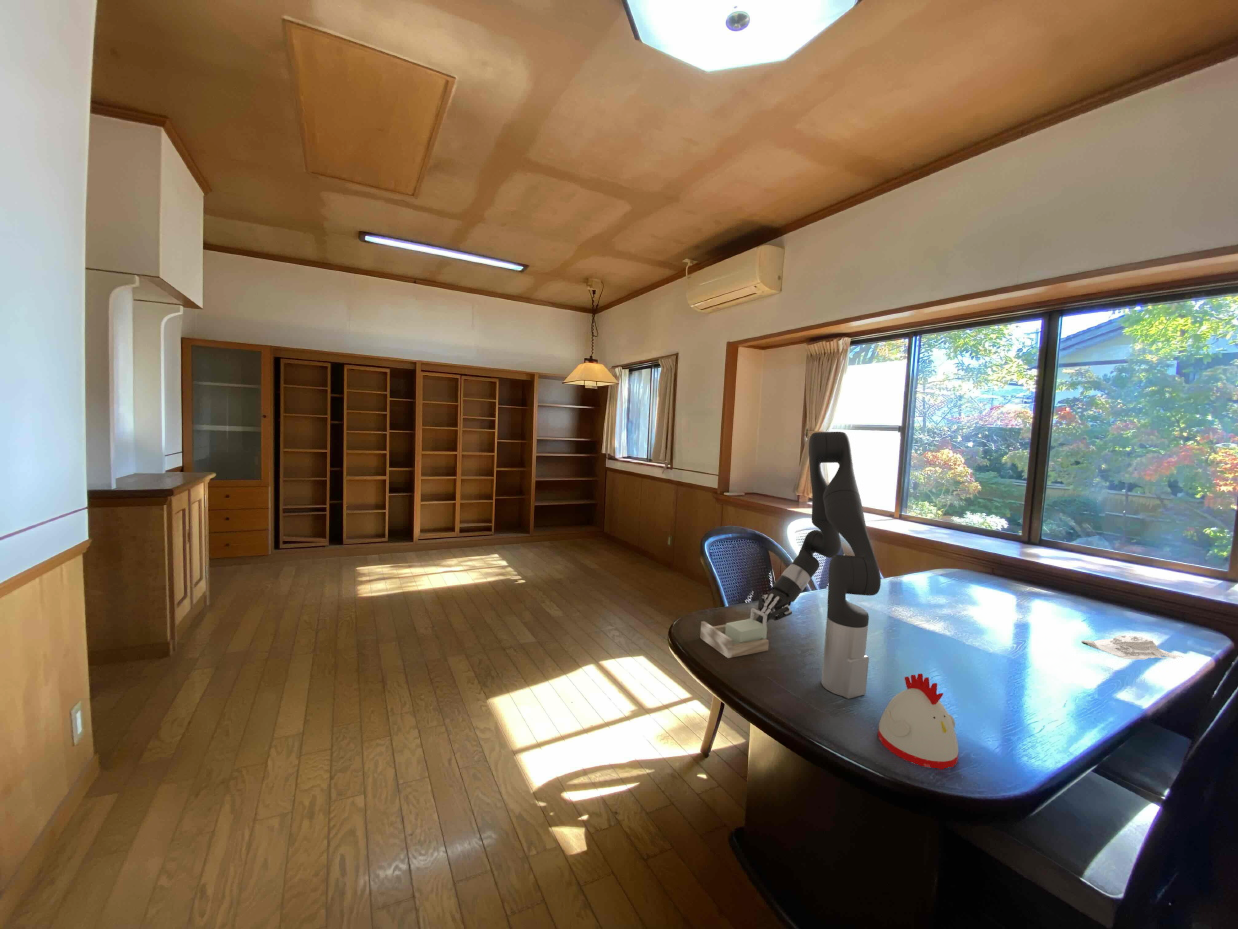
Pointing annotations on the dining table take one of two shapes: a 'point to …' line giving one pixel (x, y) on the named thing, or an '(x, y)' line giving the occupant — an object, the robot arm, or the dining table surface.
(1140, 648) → the terrain model
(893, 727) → the kitchen timer
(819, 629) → the dining table surface
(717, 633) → the birch bay
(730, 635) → the sage trolley
